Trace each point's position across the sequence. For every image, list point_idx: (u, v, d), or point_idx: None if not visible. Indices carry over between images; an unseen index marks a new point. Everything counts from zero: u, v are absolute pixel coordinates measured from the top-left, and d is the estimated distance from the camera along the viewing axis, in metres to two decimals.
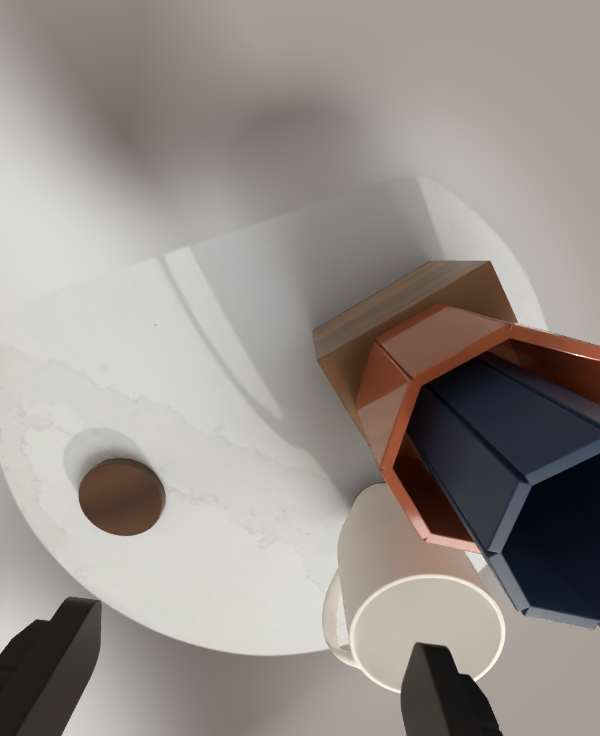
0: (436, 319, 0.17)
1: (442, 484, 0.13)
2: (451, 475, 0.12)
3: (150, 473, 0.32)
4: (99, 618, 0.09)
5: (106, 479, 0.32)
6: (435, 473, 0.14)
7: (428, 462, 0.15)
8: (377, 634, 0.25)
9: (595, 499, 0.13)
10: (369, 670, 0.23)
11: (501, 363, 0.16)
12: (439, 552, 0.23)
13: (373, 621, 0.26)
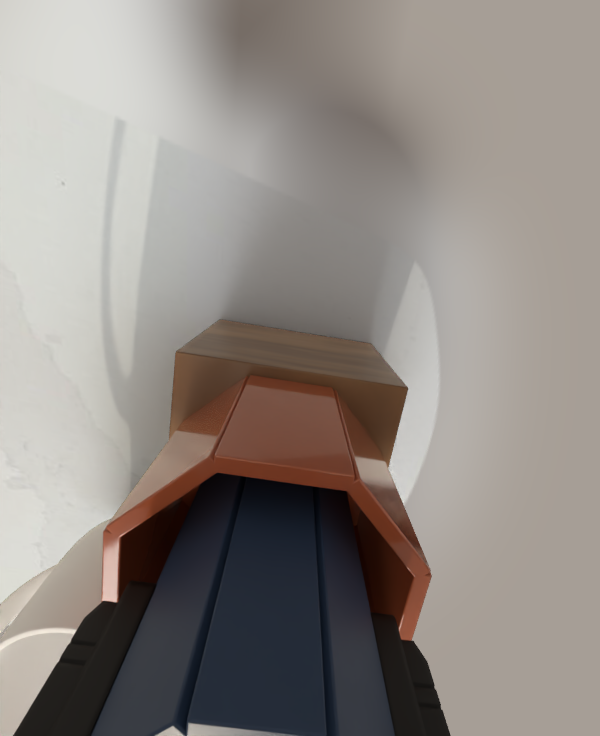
0: (312, 405, 0.14)
1: (149, 603, 0.09)
2: (159, 605, 0.09)
3: None
4: None
5: None
6: (159, 580, 0.10)
7: (169, 557, 0.11)
8: (38, 660, 0.20)
9: None
10: None
11: (333, 499, 0.13)
12: None
13: (45, 643, 0.21)
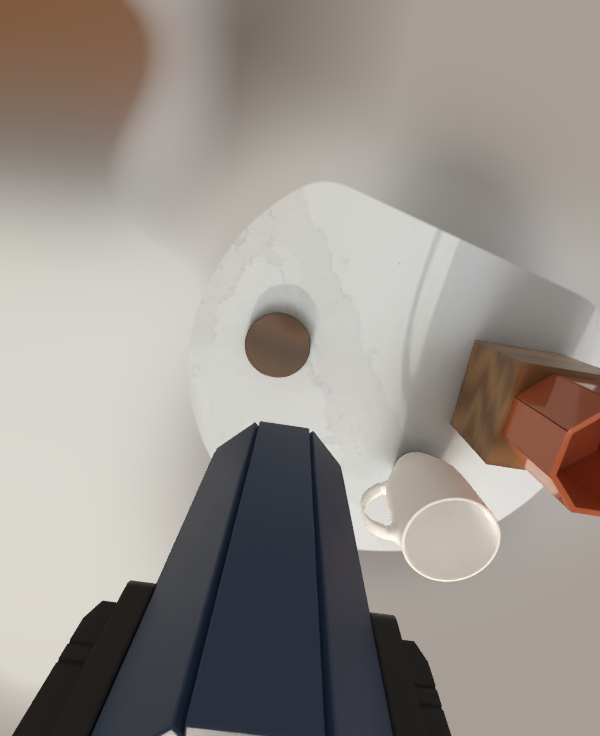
0: None
1: (148, 605, 0.09)
2: (158, 607, 0.09)
3: None
4: None
5: (283, 327, 0.41)
6: (158, 582, 0.10)
7: (168, 559, 0.11)
8: None
9: None
10: (404, 539, 0.35)
11: (333, 501, 0.13)
12: None
13: None
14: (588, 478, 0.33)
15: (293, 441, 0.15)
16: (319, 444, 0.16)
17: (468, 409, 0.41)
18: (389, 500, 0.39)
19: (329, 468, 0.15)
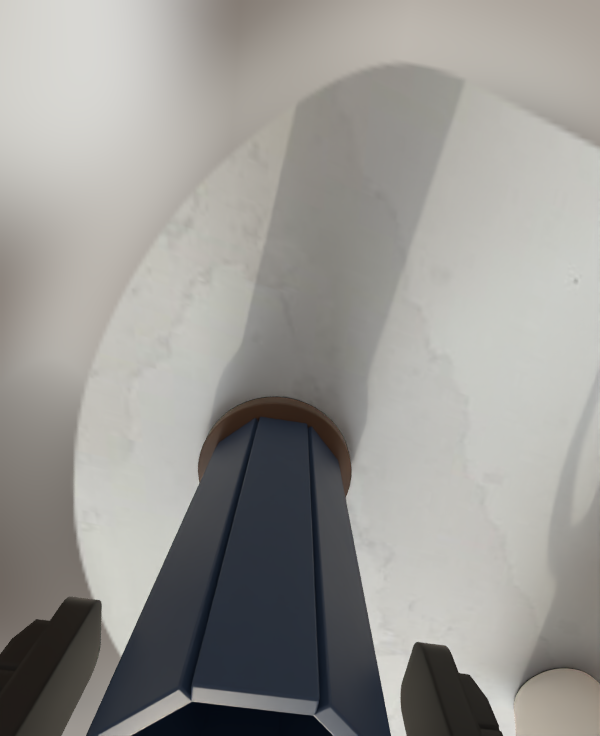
0: None
1: (154, 587, 0.10)
2: (164, 588, 0.09)
3: (350, 468, 0.18)
4: (99, 618, 0.09)
5: None
6: (163, 566, 0.10)
7: (172, 545, 0.11)
8: None
9: None
10: None
11: (330, 492, 0.13)
12: None
13: None
14: None
15: (292, 435, 0.15)
16: (317, 438, 0.16)
17: None
18: None
19: (326, 461, 0.15)
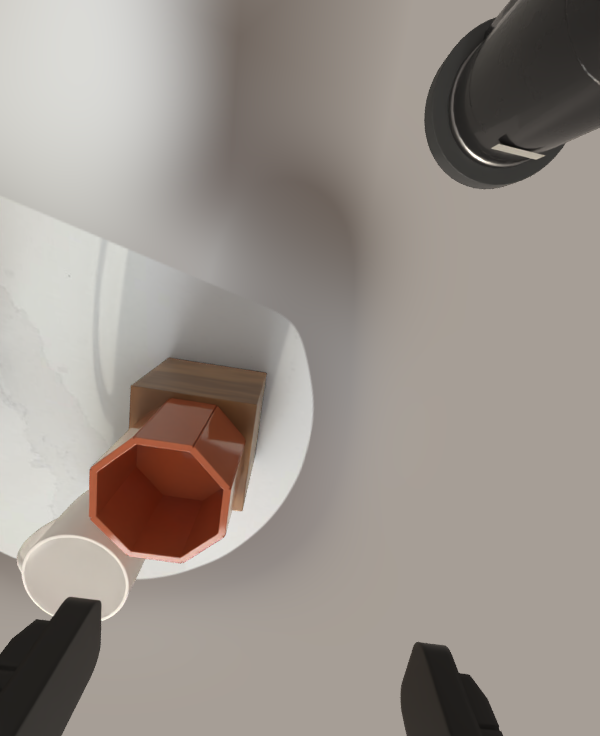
0: (195, 415, 0.28)
1: None
2: None
3: None
4: (99, 618, 0.09)
5: None
6: None
7: None
8: (54, 564, 0.34)
9: None
10: (27, 579, 0.32)
11: None
12: None
13: (59, 556, 0.35)
14: (203, 513, 0.30)
15: None
16: None
17: None
18: None
19: None
